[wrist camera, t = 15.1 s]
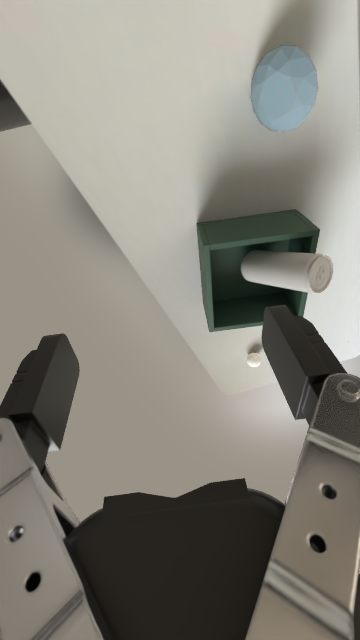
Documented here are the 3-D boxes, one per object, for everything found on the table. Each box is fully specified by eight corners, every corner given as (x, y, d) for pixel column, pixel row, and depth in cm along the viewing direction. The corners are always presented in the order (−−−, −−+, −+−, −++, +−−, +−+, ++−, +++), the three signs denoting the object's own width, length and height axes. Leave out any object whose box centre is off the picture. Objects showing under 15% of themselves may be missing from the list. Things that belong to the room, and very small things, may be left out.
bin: (203, 303, 51) (209, 332, 45) (196, 223, 42) (203, 245, 36) (285, 292, 51) (302, 320, 44) (296, 209, 41) (320, 229, 35)
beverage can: (234, 273, 43) (302, 285, 33) (246, 244, 43) (319, 247, 33) (253, 285, 46) (323, 299, 36) (265, 257, 46) (338, 264, 36)
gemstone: (339, 24, 27) (316, 38, 25) (330, 116, 33) (311, 134, 31) (266, 42, 32) (242, 56, 30) (269, 121, 37) (248, 137, 35)
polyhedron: (260, 349, 59) (265, 360, 57) (256, 360, 61) (260, 370, 59) (247, 349, 59) (251, 359, 56) (243, 359, 60) (246, 369, 58)
